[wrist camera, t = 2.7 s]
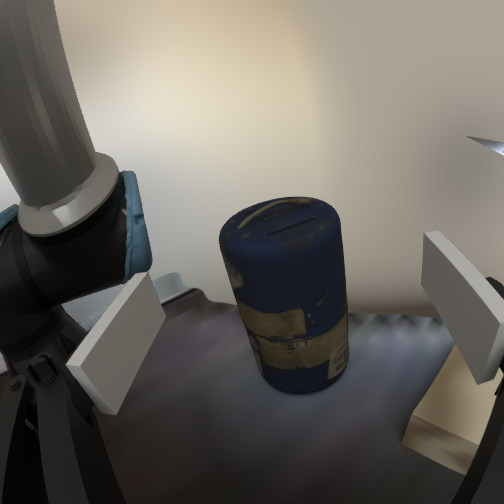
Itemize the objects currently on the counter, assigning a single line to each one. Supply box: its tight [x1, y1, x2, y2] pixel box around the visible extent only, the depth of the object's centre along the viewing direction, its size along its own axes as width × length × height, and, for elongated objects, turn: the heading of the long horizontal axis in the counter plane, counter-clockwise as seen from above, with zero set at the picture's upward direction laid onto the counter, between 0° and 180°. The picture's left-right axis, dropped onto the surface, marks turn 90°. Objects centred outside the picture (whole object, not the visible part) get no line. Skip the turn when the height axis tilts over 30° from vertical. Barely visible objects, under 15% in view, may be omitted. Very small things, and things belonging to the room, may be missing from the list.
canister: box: [219, 197, 349, 394], centre depth 27 cm, size 10×10×18 cm
